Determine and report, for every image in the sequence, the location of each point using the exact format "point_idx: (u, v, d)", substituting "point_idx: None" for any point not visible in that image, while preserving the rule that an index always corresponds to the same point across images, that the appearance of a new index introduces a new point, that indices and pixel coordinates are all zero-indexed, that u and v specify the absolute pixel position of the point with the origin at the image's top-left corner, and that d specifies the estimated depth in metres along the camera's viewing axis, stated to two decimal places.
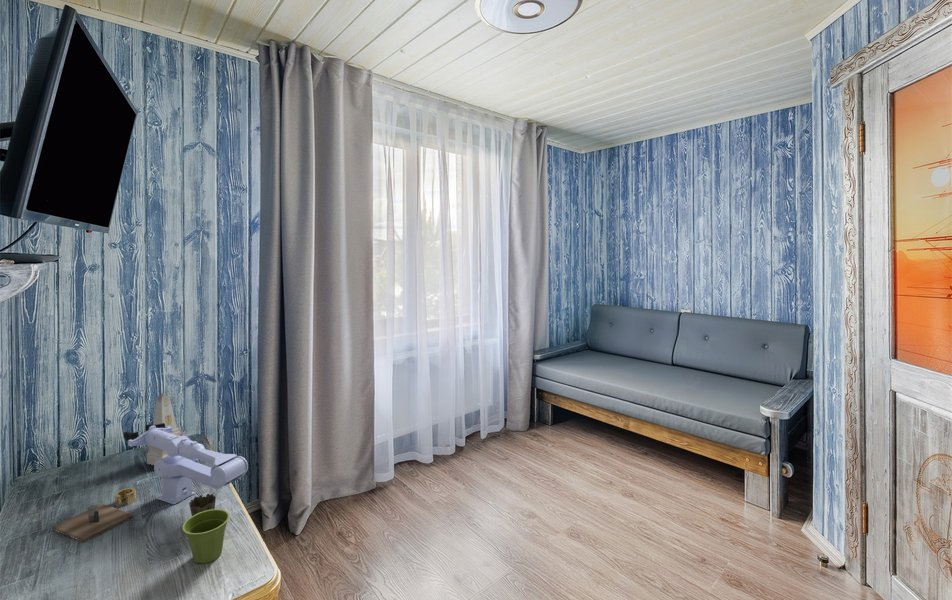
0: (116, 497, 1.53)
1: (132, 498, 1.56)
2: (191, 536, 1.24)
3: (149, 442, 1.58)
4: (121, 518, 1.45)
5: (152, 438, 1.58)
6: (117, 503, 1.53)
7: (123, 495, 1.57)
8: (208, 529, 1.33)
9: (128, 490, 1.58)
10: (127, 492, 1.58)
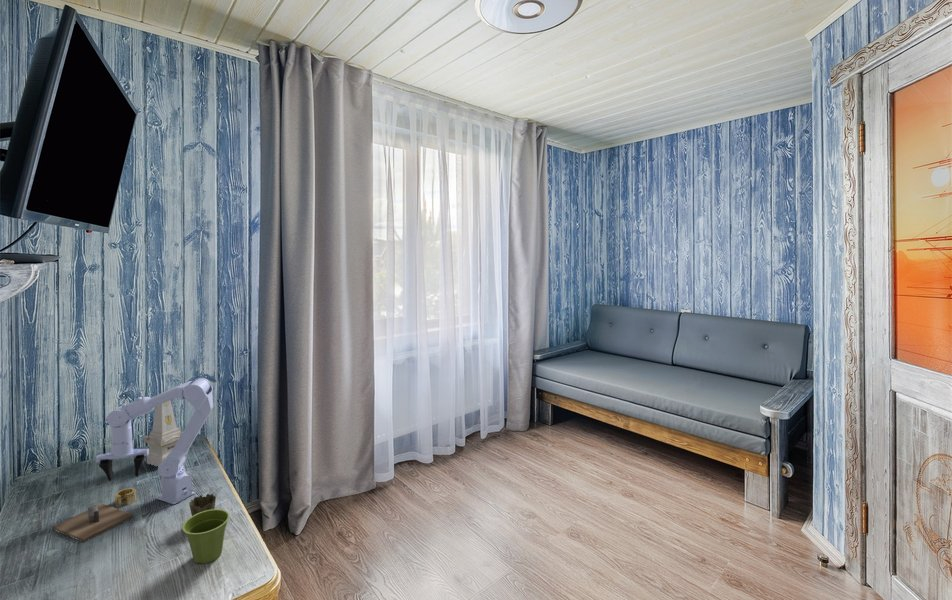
0: (116, 497, 1.53)
1: (132, 498, 1.56)
2: (191, 536, 1.24)
3: (112, 447, 1.52)
4: (121, 518, 1.45)
5: None
6: (117, 503, 1.53)
7: (123, 495, 1.57)
8: (208, 529, 1.33)
9: (128, 490, 1.58)
10: (127, 492, 1.58)
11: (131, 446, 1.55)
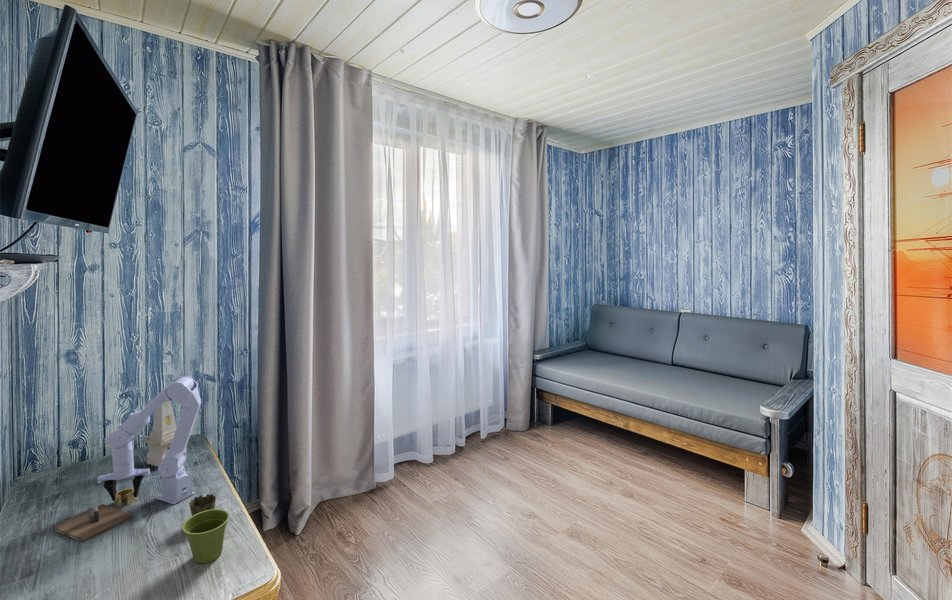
0: (116, 497, 1.53)
1: (132, 498, 1.56)
2: (191, 536, 1.24)
3: (113, 468, 1.53)
4: (121, 518, 1.45)
5: None
6: (117, 503, 1.53)
7: (123, 495, 1.57)
8: (208, 529, 1.33)
9: (128, 490, 1.58)
10: (127, 492, 1.58)
11: (132, 466, 1.55)
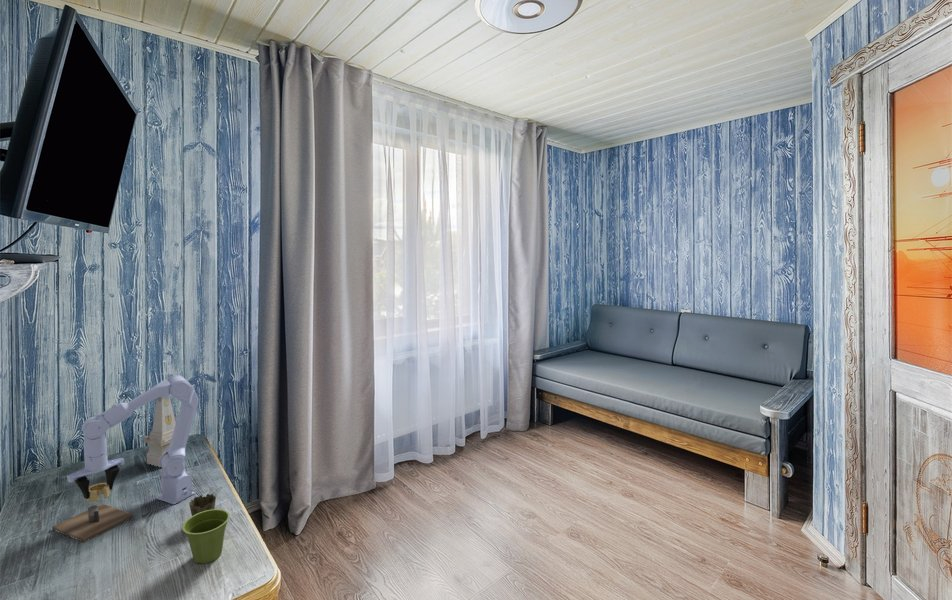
0: (93, 493, 1.42)
1: (109, 491, 1.46)
2: (191, 536, 1.24)
3: (86, 463, 1.41)
4: (121, 518, 1.45)
5: (84, 458, 1.42)
6: (94, 499, 1.43)
7: None
8: (208, 529, 1.33)
9: (96, 486, 1.46)
10: (95, 488, 1.46)
11: None
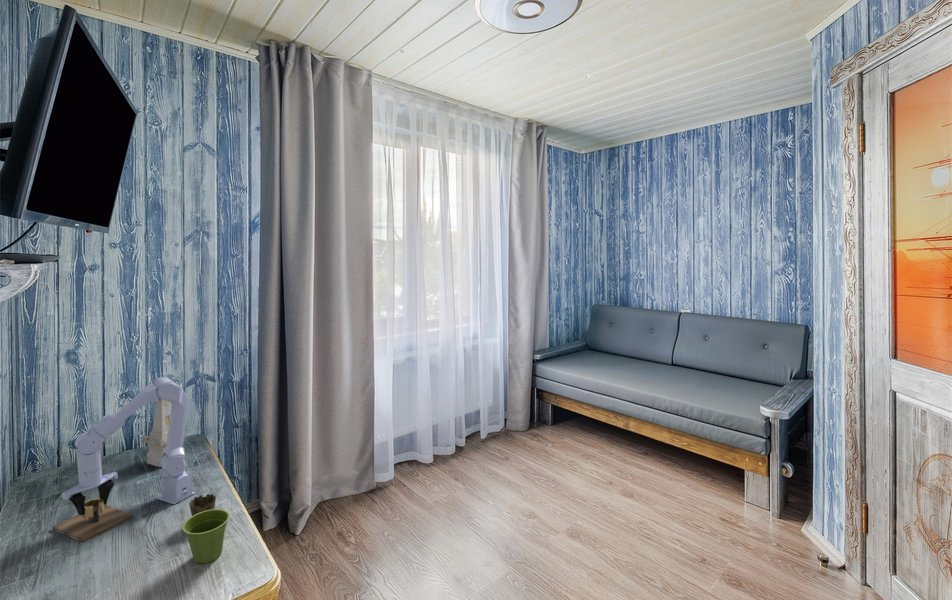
0: (88, 509, 1.40)
1: (103, 506, 1.45)
2: (191, 536, 1.24)
3: (81, 479, 1.39)
4: (121, 518, 1.45)
5: (78, 474, 1.40)
6: (90, 515, 1.41)
7: None
8: (208, 529, 1.33)
9: (89, 502, 1.44)
10: (88, 504, 1.44)
11: None
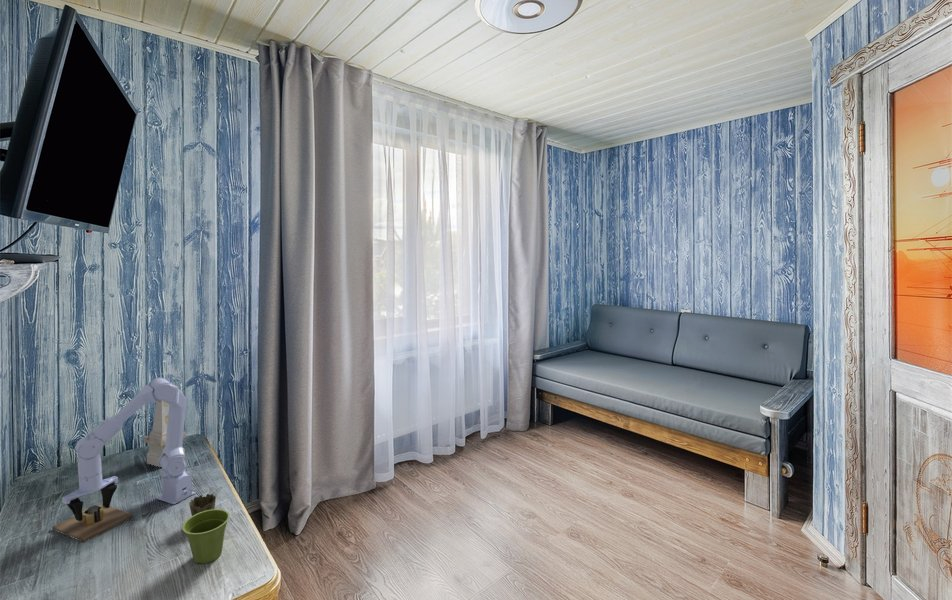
0: (89, 516, 1.41)
1: (104, 513, 1.45)
2: (191, 536, 1.24)
3: (81, 484, 1.39)
4: (121, 518, 1.45)
5: None
6: (91, 522, 1.41)
7: None
8: (208, 529, 1.33)
9: None
10: None
11: None
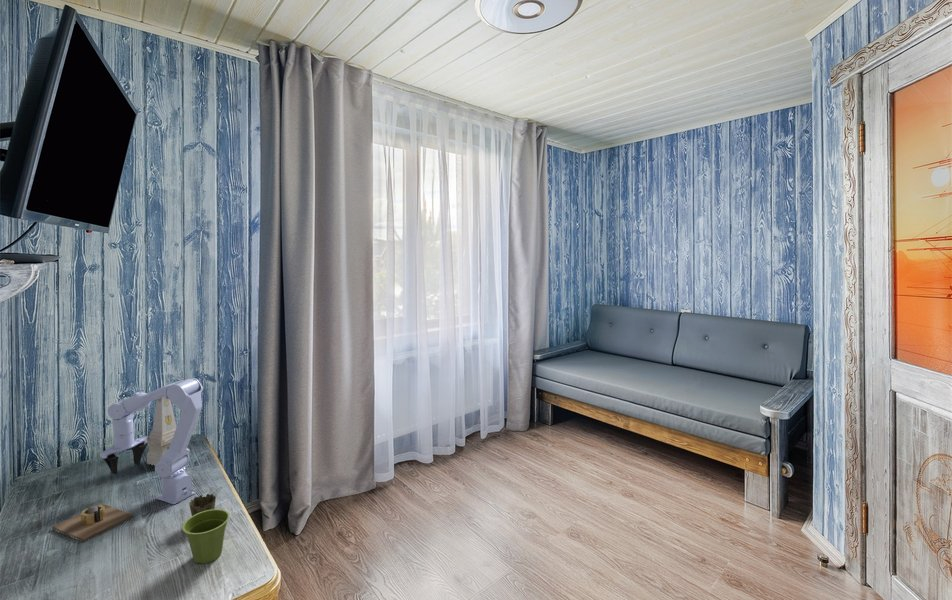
0: (89, 516, 1.41)
1: (104, 513, 1.45)
2: (191, 536, 1.24)
3: (116, 441, 1.57)
4: (121, 518, 1.45)
5: None
6: (91, 522, 1.41)
7: None
8: (208, 529, 1.33)
9: None
10: None
11: None
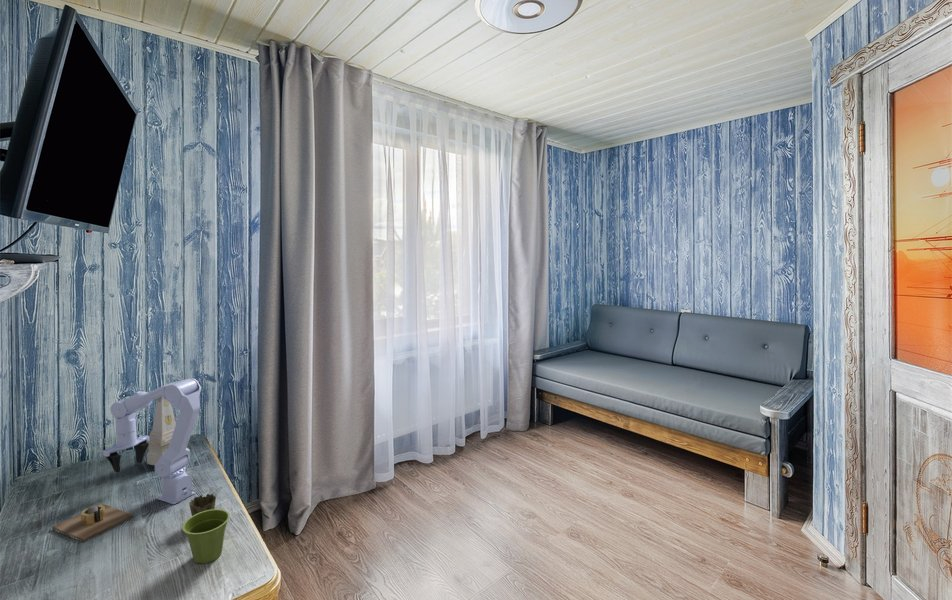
0: (89, 516, 1.41)
1: (104, 513, 1.45)
2: (191, 536, 1.24)
3: (119, 439, 1.58)
4: (121, 518, 1.45)
5: (116, 435, 1.59)
6: (91, 522, 1.41)
7: None
8: (208, 529, 1.33)
9: None
10: None
11: None
